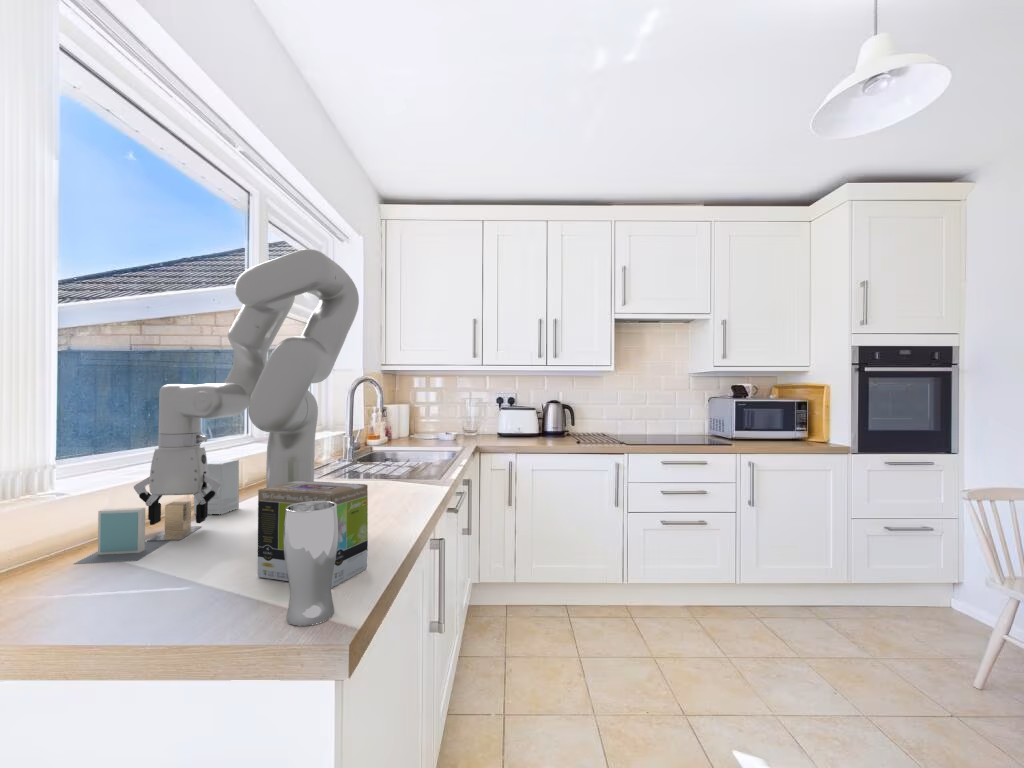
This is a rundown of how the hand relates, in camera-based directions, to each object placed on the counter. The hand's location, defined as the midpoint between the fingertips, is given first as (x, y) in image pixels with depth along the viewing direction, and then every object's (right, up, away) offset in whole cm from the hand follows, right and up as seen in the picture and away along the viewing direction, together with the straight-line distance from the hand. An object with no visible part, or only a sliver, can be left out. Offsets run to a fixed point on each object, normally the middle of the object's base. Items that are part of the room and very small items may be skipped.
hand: (178, 522), depth 109 cm
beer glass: (+44, -2, -40) cm, 60 cm away
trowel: (+1, -2, -1) cm, 3 cm away
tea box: (+38, -2, -24) cm, 45 cm away
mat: (-1, -2, -14) cm, 14 cm away
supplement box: (-3, -3, +19) cm, 19 cm away
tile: (-1, -2, -14) cm, 14 cm away
